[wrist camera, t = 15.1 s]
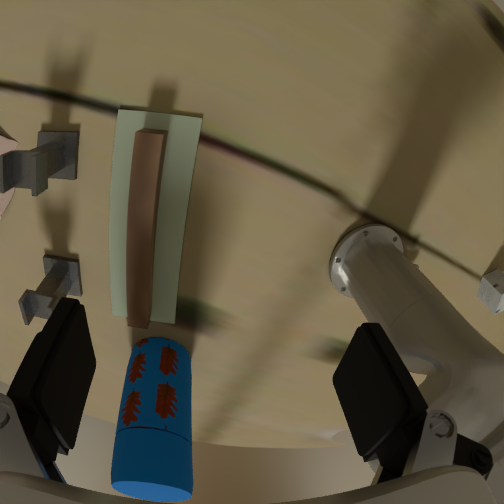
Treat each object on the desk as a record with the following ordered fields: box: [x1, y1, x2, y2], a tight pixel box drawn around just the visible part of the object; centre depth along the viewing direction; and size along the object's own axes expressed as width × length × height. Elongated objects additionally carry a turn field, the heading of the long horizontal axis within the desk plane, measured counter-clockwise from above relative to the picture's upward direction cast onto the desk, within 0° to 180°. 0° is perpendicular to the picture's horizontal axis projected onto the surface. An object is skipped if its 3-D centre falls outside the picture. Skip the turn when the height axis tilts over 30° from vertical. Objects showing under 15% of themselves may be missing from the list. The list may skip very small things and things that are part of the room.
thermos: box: [111, 337, 193, 502], centre depth 38 cm, size 11×11×25 cm
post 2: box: [18, 255, 82, 325], centre depth 35 cm, size 6×6×10 cm
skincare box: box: [477, 269, 504, 315], centre depth 49 cm, size 6×6×7 cm
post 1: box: [0, 131, 80, 196], centre depth 26 cm, size 6×6×10 cm
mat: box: [109, 109, 203, 324], centre depth 37 cm, size 10×30×1 cm, turn 167°
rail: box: [126, 128, 168, 329], centre depth 35 cm, size 3×26×4 cm, turn 167°
